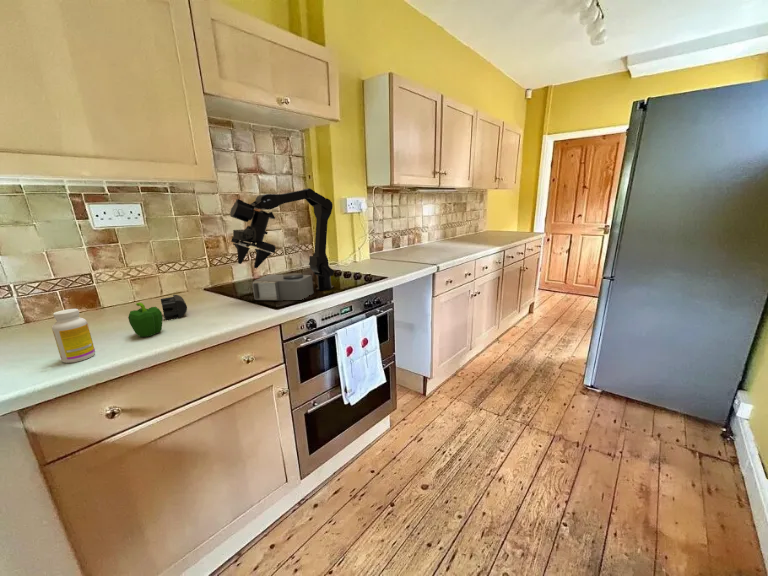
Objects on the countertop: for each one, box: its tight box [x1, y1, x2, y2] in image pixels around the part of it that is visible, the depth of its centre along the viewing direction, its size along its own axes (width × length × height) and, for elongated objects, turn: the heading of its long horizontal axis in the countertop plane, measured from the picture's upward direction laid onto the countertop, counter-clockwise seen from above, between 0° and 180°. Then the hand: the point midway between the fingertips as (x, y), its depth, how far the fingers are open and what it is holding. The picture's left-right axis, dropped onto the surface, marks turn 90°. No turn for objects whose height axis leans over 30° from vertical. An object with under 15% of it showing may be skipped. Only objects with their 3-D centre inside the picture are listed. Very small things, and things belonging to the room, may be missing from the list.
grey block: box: [253, 272, 315, 301], centre depth 138 cm, size 12×20×9 cm, turn 77°
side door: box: [251, 281, 280, 301], centre depth 132 cm, size 3×10×7 cm, turn 77°
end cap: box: [160, 294, 188, 321], centre depth 118 cm, size 10×7×7 cm
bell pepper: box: [127, 302, 164, 338], centre depth 100 cm, size 8×8×10 cm
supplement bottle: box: [51, 308, 96, 364], centre depth 85 cm, size 7×7×13 cm
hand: (247, 265), depth 125 cm, fingers open, 9 cm apart
